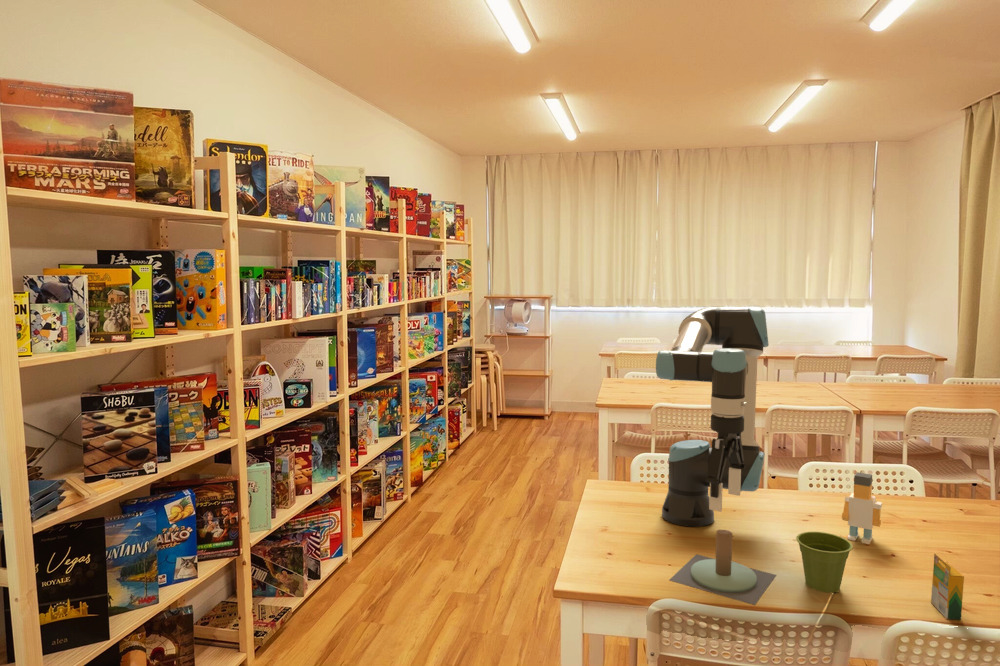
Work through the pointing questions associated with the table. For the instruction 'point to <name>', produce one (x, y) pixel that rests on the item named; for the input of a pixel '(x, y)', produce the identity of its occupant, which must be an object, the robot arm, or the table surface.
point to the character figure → (862, 508)
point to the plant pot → (823, 559)
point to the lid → (723, 569)
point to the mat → (747, 596)
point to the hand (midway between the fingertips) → (725, 502)
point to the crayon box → (947, 589)
